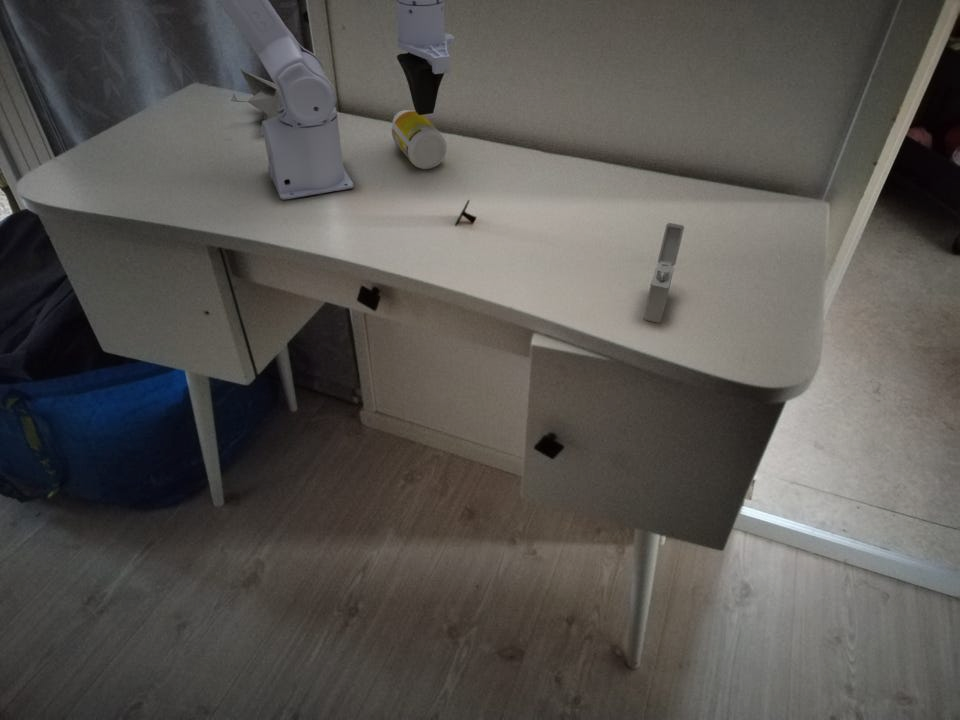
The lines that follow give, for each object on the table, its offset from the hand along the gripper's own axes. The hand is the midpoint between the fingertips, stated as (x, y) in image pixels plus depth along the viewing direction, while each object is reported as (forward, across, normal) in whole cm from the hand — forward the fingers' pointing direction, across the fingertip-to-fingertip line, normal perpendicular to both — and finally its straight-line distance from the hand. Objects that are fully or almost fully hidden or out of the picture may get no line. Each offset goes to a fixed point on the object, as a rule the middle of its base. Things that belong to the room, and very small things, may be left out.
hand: (424, 112), depth 93 cm
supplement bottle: (+5, -2, 0) cm, 5 cm away
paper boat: (+8, +24, +18) cm, 31 cm away
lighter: (+8, -39, -12) cm, 42 cm away
